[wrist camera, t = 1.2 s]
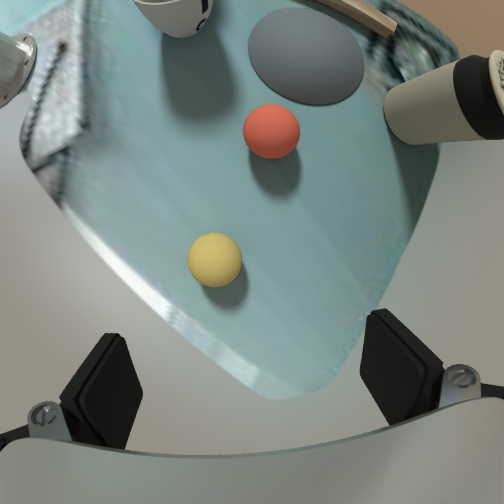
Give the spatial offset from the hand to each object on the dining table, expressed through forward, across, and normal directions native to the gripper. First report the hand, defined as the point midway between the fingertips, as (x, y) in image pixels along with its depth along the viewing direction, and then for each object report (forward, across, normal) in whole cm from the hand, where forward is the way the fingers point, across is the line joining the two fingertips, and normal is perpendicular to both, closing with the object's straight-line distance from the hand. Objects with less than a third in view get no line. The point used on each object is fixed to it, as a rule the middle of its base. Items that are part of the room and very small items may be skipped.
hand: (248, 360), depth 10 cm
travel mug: (+22, -22, -14) cm, 35 cm away
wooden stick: (+22, -14, -30) cm, 40 cm away
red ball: (+19, -4, -11) cm, 22 cm away
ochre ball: (+19, +3, +1) cm, 19 cm away
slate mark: (+22, -10, -22) cm, 32 cm away
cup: (+22, +4, -27) cm, 35 cm away
